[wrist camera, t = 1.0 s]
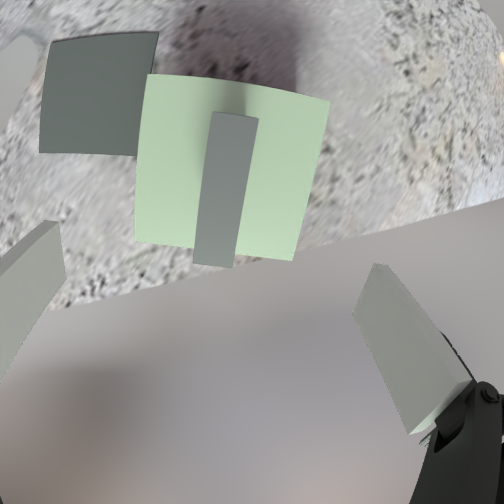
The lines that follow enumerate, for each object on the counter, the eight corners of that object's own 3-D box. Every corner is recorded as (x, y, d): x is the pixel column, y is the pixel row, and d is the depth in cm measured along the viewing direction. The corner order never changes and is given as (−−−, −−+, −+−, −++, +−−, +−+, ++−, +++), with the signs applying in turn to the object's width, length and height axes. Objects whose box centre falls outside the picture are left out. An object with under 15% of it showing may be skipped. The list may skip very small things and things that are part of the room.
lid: (150, 75, 22) (115, 63, 14) (327, 102, 25) (367, 102, 17) (136, 237, 30) (108, 283, 22) (290, 256, 32) (308, 307, 24)
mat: (52, 43, 26) (50, 43, 26) (159, 33, 29) (158, 32, 28) (40, 152, 34) (39, 153, 34) (140, 155, 37) (139, 156, 37)
